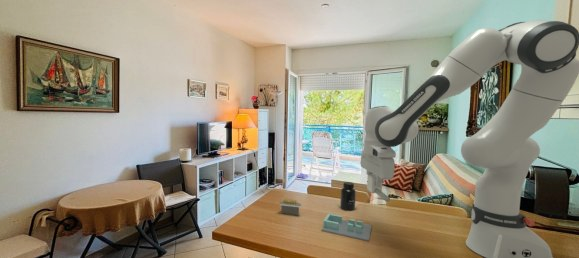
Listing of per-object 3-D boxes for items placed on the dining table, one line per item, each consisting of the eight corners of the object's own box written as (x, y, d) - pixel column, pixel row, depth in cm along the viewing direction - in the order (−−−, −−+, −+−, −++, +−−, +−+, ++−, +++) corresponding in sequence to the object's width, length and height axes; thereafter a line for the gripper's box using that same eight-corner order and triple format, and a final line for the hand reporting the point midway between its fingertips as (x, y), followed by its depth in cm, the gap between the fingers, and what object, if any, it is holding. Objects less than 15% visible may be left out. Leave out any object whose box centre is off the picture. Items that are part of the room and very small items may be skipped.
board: (371, 226, 93) (371, 219, 93) (368, 241, 82) (369, 233, 82) (329, 218, 100) (329, 211, 100) (321, 230, 89) (321, 223, 89)
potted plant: (275, 207, 112) (275, 193, 112) (312, 211, 107) (313, 197, 107) (266, 217, 101) (266, 202, 100) (307, 223, 96) (308, 207, 96)
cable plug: (392, 201, 81) (394, 184, 80) (381, 202, 80) (382, 185, 80) (376, 189, 93) (377, 174, 92) (366, 189, 92) (367, 174, 92)
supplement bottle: (352, 212, 107) (353, 186, 106) (338, 208, 110) (339, 183, 110) (356, 207, 113) (357, 182, 112) (343, 204, 116) (343, 180, 115)
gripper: (357, 144, 99) (355, 176, 100) (381, 153, 79) (379, 193, 80) (371, 144, 100) (370, 176, 101) (398, 153, 80) (396, 193, 81)
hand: (374, 184), depth 90 cm, fingers closed on cable plug, 4 cm apart
